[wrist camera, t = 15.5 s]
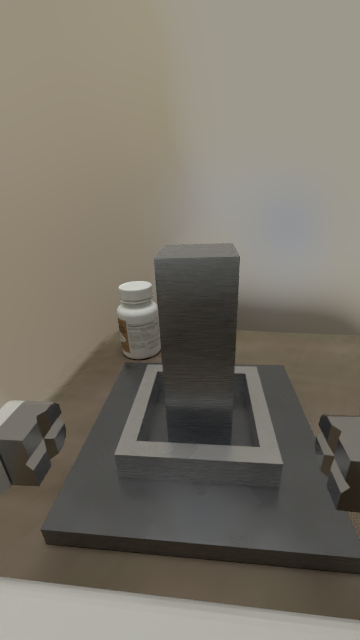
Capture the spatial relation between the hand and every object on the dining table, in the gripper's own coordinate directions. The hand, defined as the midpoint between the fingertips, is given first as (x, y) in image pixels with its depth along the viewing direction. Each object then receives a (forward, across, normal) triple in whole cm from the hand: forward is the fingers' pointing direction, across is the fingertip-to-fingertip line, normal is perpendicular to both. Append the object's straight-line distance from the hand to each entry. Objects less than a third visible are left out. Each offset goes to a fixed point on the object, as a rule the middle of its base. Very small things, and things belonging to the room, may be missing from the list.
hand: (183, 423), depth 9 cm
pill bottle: (+20, +7, +10) cm, 23 cm away
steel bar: (+8, 0, +8) cm, 12 cm away
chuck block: (+8, 0, +9) cm, 13 cm away
